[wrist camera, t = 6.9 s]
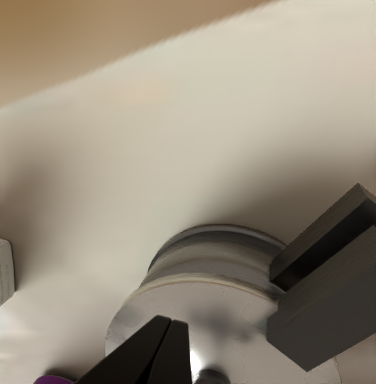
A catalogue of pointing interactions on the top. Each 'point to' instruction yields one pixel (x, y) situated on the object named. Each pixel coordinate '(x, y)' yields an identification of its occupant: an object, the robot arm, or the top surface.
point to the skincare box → (6, 272)
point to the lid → (264, 320)
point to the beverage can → (53, 380)
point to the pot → (266, 247)
